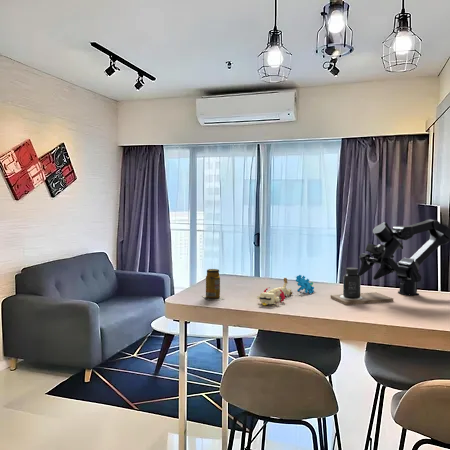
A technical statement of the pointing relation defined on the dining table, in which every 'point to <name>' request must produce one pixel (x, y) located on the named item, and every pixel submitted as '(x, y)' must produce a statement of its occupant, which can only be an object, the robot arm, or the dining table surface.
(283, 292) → the cat figure
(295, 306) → the dining table surface
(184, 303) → the dining table surface
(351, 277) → the supplement bottle
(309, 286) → the blue lumpy piece
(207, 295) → the condiment
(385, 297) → the walnut board
